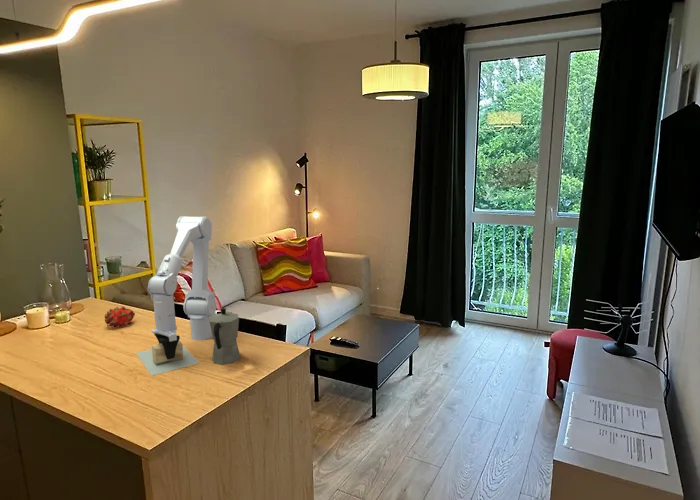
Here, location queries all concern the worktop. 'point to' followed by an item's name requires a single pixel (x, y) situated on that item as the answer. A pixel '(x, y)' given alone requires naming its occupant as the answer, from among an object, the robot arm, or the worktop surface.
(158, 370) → the board
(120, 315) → the dragon fruit
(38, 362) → the worktop surface
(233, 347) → the coffeepot
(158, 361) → the block
